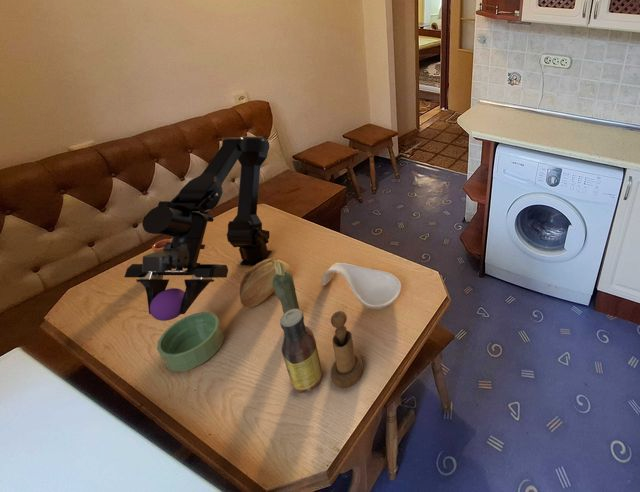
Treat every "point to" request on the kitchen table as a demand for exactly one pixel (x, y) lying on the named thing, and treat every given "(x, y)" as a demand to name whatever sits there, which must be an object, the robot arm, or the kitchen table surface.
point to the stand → (160, 245)
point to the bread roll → (259, 282)
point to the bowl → (190, 341)
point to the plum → (167, 304)
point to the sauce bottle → (300, 352)
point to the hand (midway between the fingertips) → (166, 314)
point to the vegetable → (284, 287)
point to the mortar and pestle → (344, 354)
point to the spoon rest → (367, 284)
